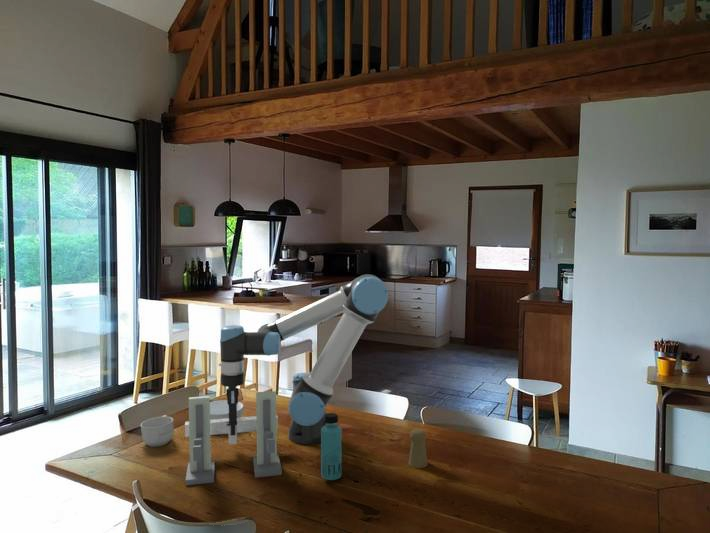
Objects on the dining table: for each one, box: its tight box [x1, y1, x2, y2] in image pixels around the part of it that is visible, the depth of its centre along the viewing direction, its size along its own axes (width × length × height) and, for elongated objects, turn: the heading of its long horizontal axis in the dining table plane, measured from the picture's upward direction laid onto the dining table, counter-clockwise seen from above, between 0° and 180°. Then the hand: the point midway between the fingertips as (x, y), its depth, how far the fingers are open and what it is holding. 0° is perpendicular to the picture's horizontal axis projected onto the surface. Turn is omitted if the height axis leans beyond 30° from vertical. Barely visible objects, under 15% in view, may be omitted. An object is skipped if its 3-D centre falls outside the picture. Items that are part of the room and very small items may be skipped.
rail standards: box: [185, 390, 283, 486], centre depth 156 cm, size 28×23×24 cm
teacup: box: [139, 414, 175, 448], centre depth 184 cm, size 14×11×8 cm
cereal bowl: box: [210, 399, 244, 420], centre depth 201 cm, size 17×17×7 cm
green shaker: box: [408, 428, 428, 469], centre depth 166 cm, size 6×6×11 cm
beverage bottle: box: [320, 412, 343, 481], centre depth 155 cm, size 6×7×20 cm
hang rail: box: [184, 414, 279, 438], centre depth 175 cm, size 30×3×4 cm, turn 104°
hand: (232, 441), depth 175 cm, fingers closed on hang rail, 3 cm apart
